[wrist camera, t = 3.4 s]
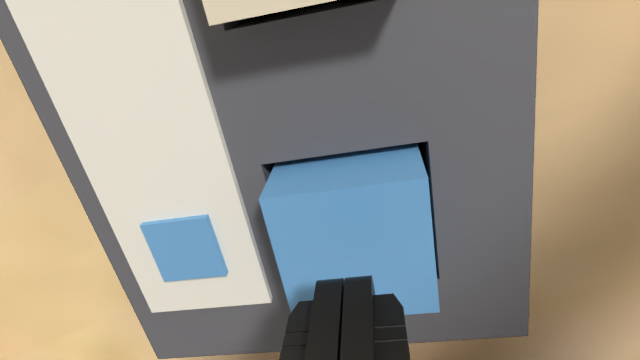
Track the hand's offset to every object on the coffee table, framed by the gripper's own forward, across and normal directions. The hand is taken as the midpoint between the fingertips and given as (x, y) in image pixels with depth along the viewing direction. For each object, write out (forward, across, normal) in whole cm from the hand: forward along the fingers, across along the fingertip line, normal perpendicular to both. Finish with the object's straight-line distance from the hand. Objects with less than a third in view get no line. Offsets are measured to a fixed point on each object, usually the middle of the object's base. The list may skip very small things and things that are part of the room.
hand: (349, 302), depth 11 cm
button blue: (+6, 0, 0) cm, 6 cm away
